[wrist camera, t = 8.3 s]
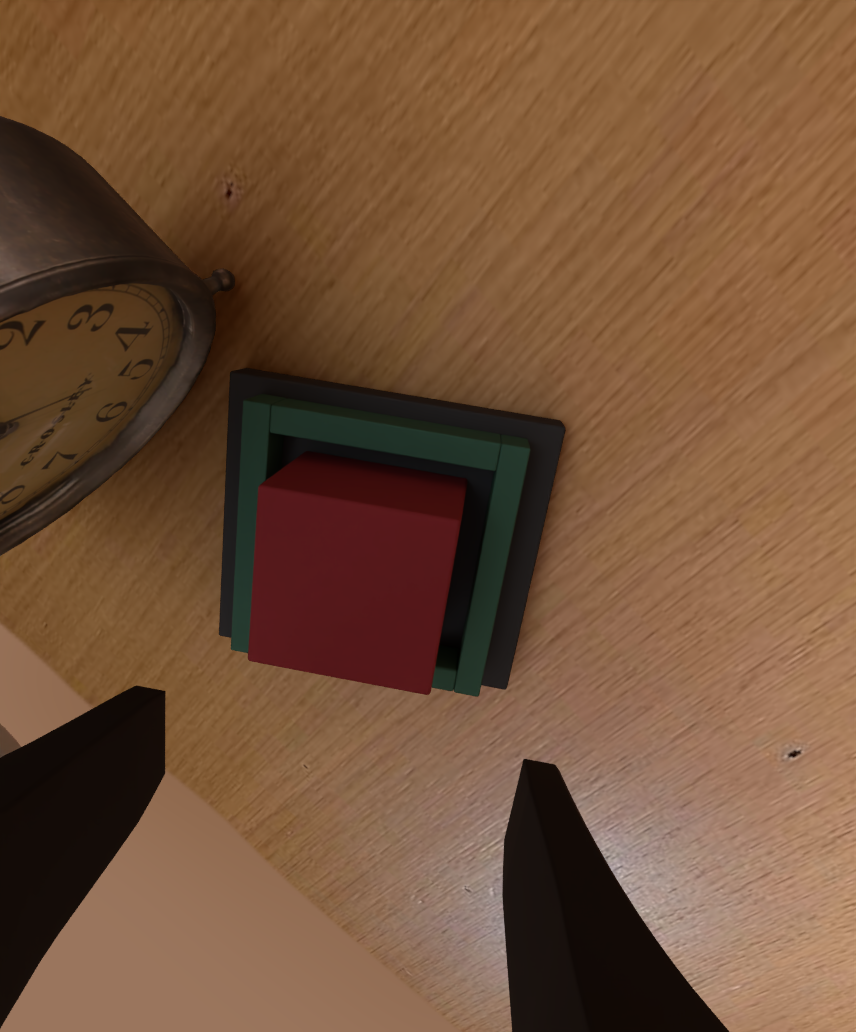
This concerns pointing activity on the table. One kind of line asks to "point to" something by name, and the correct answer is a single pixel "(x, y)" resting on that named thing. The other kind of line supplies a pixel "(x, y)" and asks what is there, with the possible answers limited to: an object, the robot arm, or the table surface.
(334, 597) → the red cube
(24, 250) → the alarm clock
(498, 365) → the table surface
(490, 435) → the base pad
